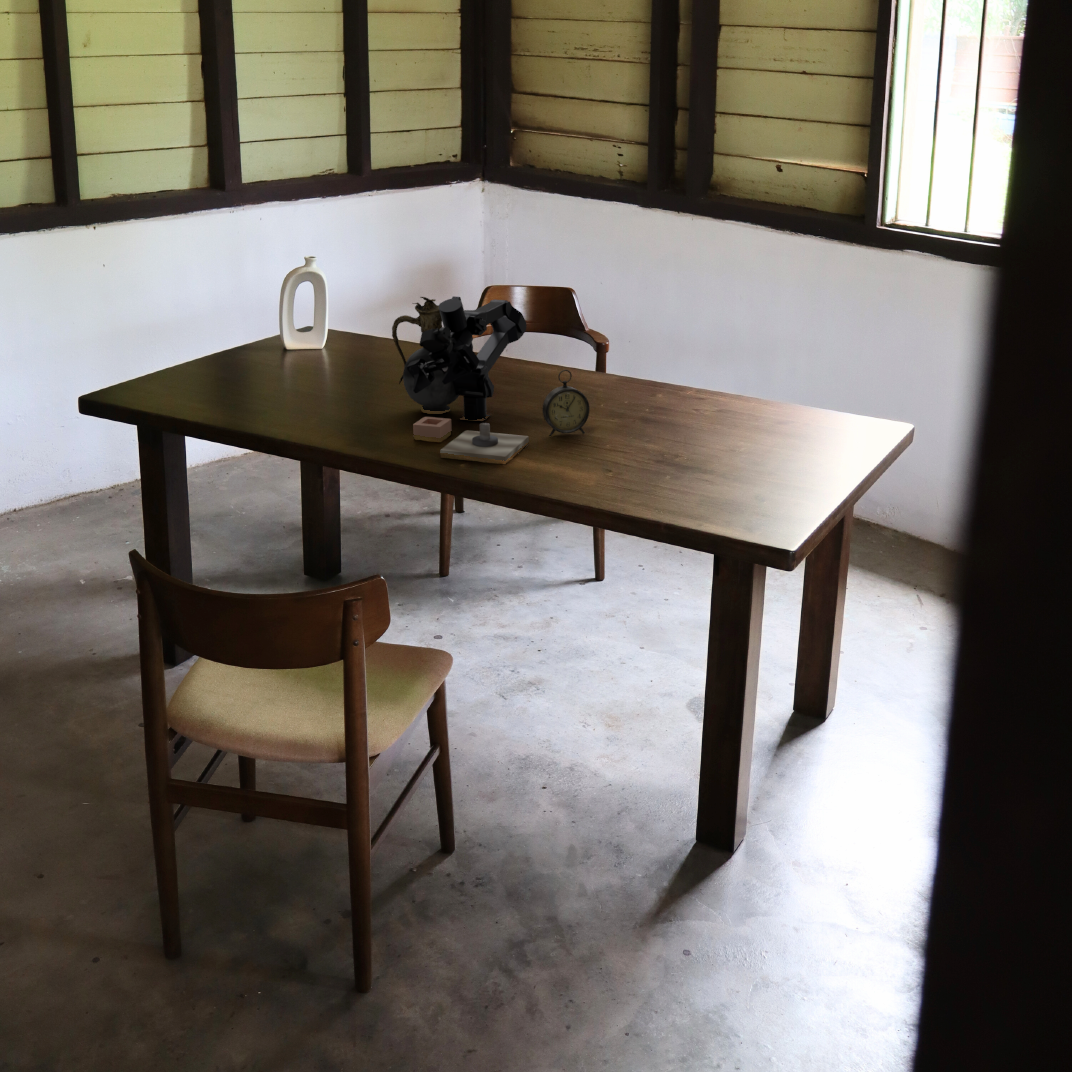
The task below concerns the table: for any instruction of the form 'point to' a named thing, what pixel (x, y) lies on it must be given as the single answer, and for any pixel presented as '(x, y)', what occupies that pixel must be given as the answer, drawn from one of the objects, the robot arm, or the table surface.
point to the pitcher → (437, 392)
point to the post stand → (485, 444)
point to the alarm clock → (566, 408)
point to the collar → (432, 427)
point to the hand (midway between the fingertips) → (428, 387)
